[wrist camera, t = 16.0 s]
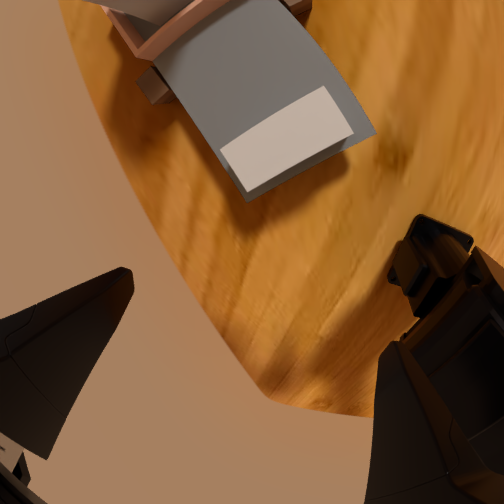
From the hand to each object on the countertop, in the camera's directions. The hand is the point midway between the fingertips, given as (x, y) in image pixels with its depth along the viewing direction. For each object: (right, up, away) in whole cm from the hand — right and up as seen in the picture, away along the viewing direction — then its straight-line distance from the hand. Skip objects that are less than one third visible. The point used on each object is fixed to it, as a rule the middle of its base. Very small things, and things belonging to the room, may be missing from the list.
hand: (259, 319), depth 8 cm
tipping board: (-2, +16, +5) cm, 17 cm away
